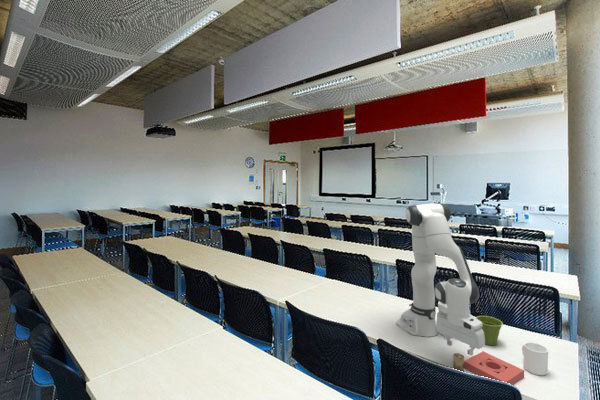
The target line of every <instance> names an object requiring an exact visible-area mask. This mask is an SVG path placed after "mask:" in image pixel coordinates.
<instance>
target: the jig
mask: <svg viewBox="0 0 600 400" xmlns="http://www.w3.org/2000/svg"><path fill="white" fill-rule="evenodd" d="M465 369H466V370H467V371H469V372H470V373H473V374H475V375H477V376H478V375H480V376H484V377H488V378H491V379H495V380H499V381H504V382H507V383H510V384H512V385H511V386H513V385H514V384H516V383H517V382H519V381H521V380H523V379H524V378H525V369H522V368H520V367H518V366H516V365H513V364H511V363H509V362H507V361H504V360H503V359H501V358H498V357H496V356H494V355H492V354H490V353H488V352H486V351H481V352H479V353H477V354H475V355H472V356H471V357H469V358H467V359H464V370H465ZM480 376H479V377H480Z"/></svg>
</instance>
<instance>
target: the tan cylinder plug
mask: <svg viewBox="0 0 600 400" xmlns="http://www.w3.org/2000/svg"><path fill="white" fill-rule="evenodd" d="M452 361H453V362H452V366H453V367H452V368H454V369H457V370H460V371H463V372H464V373H465V368H464V361H465V355H463V354H462V353H458V352H455V353H453V359H452Z"/></svg>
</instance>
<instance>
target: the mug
mask: <svg viewBox="0 0 600 400" xmlns="http://www.w3.org/2000/svg"><path fill="white" fill-rule="evenodd" d="M521 353H522V355H523V368H524V370H525V371H527V372H528V373H531V374H533V375H536V376H546V375H547V374H548V370H549V367H548V365H549V349H548V348H547V347H546V346H545V345H543V344H540V343H538V342H537V343H536V342H524V344H522V347H521Z"/></svg>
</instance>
